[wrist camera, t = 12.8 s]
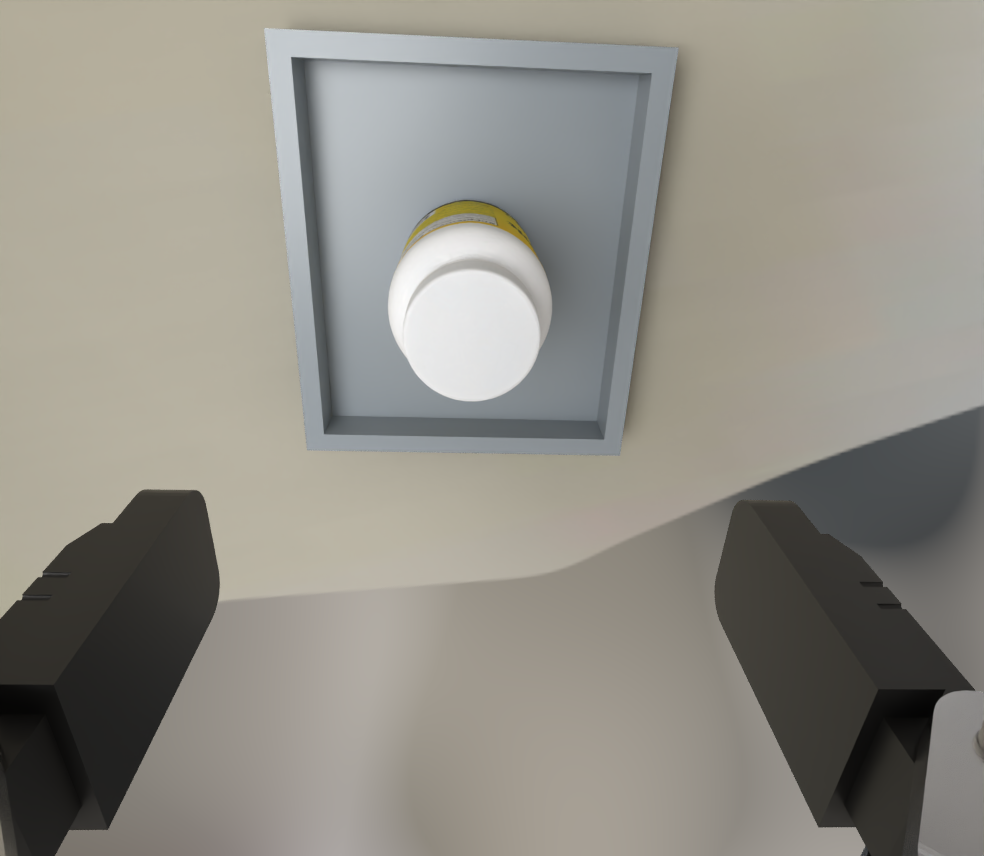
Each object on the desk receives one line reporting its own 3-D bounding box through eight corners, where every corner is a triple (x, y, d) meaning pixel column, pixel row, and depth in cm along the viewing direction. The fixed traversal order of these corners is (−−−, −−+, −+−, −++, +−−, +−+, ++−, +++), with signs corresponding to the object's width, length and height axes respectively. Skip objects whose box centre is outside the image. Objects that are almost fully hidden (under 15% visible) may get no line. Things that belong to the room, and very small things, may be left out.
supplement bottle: (539, 317, 28) (571, 414, 20) (416, 333, 29) (394, 436, 20) (527, 187, 26) (557, 231, 17) (392, 205, 26) (355, 258, 17)
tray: (283, 34, 24) (264, 28, 22) (659, 52, 25) (678, 47, 22) (318, 425, 31) (306, 450, 29) (609, 430, 32) (619, 455, 29)
